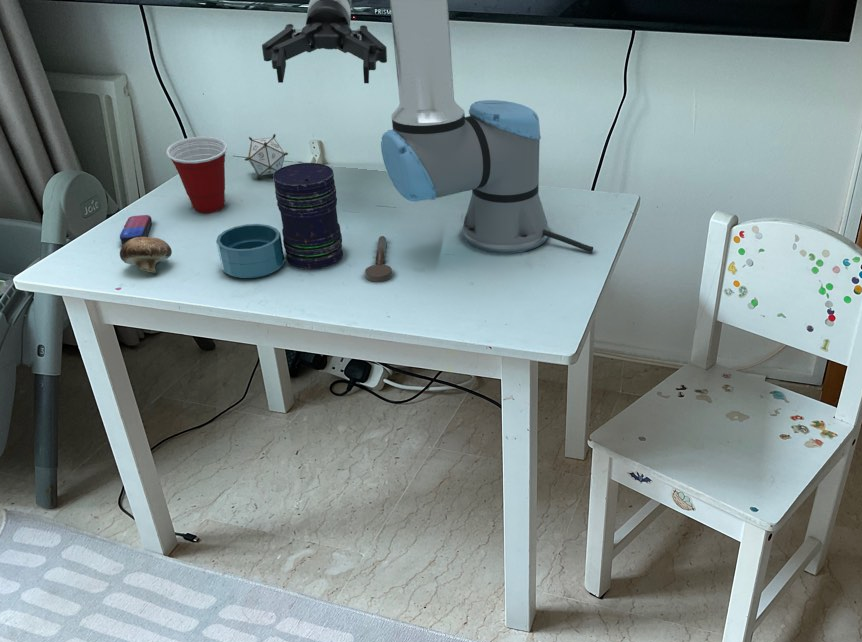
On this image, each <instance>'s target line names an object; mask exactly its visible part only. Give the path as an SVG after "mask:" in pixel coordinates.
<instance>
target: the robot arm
mask: <svg viewBox="0 0 862 642" xmlns="http://www.w3.org/2000/svg"><path fill="white" fill-rule="evenodd" d="M448 1H449V0H389V6H390V16H391V17H390V18H391V28H392V37H393V38H392V39H393V48H394V57H395V67H396V78H397V79H396V80H397V89H398V98H399V105H398V106H397V108H396V109H395V110H394V111H393V113H391V125H392V129H388V130H387V131H385V132H384V133H382V135H381V141H380V149H381V151H380V152H381V156H382V161H383V164H384V167H385V170H386V173H387V174H388V178H389V179H390V181H391V183H392V185H393V187H394V189H395V190H396V191H397V192H398V193H399V194H400V195H401V197H402V198H404V199H405V200H407V201H409V202H414V203H415V202H422V201H428V200H430V201H434V200H436V199H438V198H443V197H447V196H452V195H455V194H459V193H464V192H468V191H471V196H470V200H469V204H468V207H467V210H466V213H465V216H464V217H463V214H461V220H462V238H463V239H464V241H465V242H466V243H467V244H468V245H469V246H470V247H473V248H475V249H477V250H480V251H483V252H487V253H493V254H515V253H522V252H526V251H531V250H534V249H537V248H538V247H540V246H542V245H543V244H544V243H545V242H546V241H547V239H548V238H550V239H554V240H556V241H558V242H562V243H564V244H567V245H570V246H572V247H574V248H577V249H580V250H583V251H586V252H588V253H593V251H594V246H590V245H588V244H585V243H582V242H580V241H577V240H574V239H572V238H570V237H567V236H563V235H562V234H559V233H555V232H552V231H549V225H548V220H547V216H546V214H545V213H546V212H545V211H544V208H543V203H542V201H541V197H540V195H539V184H540V140H541V139H542V137H541V128H540V118H539V116H538V114H537V112H536V111H535V110H534V109H532V108H530V107H529V106H527V105H524V104H521V103H517V102H513V101H506V100H499V99H498V100H497V99H485V100H478V101H474V102H473V103H471V105H469V109H468V114H469V115H468V116H466V114H465V110H464V109H463V107H462V106H461V105H460V104H458V103H457V102H456V100H455V92H454V90H455V89H454V78H453V63H452V62H453V61H452V46H451V45H452V44H451V30H450V15H449V2H448ZM352 2H353V0H308V7H307V12H306V21H305V26H303V27H302V28H296V27H295V26H294V24H293V23H287V24H286V25H285V26H284V29H282V30H281V31H279V32H278V33H277V34H275V35H274V36H272V37H271V38H269V39H268V40H266V41H265V42H264V43H262V44H261V49H262V57H263V61H264V62H271V67H272V69H273V70H276V76H277V83H278V84H282V83H284V79H285V73H286V67H287V61H288V60H290V59H292V58H294V57H297V56H300V55H301V54H303V53H305V52H306V53H311V52H314V51H316V50H321V49H323V50H339V51H340V52H342V53H344V54H347V53H349V54H351V55H353V56H354V57H356V58H358V59H359V60H362V61H363V62H362V69H363V71H362V72H363V83H364V84H369V83H370V71H376V70H377V62H380V63H381V64H385V63H387V62H388V51H387V46H386V45H385V44H384V43H383V42H381V41H380V39H378V38H377V37H376V36H375V35H373V34H372V33H371V32H370V31H369V29H368V26H367V25H363V24H361V25H360V26H359V28H357V29H354V30H352V28H351V18H352V17H351V16H352Z"/></svg>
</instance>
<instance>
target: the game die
mask: <svg viewBox="0 0 862 642" xmlns="http://www.w3.org/2000/svg"><path fill="white" fill-rule="evenodd" d="M276 136H277V135H276V133H274V134H273V135H272V137H264V138H257V139H253V138H252V137H251V136H248V139H249V141H250V145H249V146H250V147H249V151H248V156H247V157H245V158H244V161H247V162H249V163H250V165H251V167H252V168H253V169H254V171H255V173H256V174H257V177H256V179H257V181H258V180H259V179H260V178H261V176H268V175H269V176H270V175H274V173H275V172H276V171H277V170H279V169H280V168H283V166H284V160H285V156H288V155H289V153H288V152H287V151H286V152H284V150H283V149H282V147H281V146H280V144H279V142H278V141H277V140H276V139H275V138H276Z"/></svg>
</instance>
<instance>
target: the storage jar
mask: <svg viewBox="0 0 862 642" xmlns="http://www.w3.org/2000/svg"><path fill="white" fill-rule="evenodd" d="M272 177H273V182H274V189H275V190H274V194H275V198H276V202H277V203H276V205H277V209H278V210H279V212H280V216H281V217H280V218H281V222H282V223H281V225H282V230H281V233H282V242H283V243H282V245H283V249H284V251H285V252H284V253H285V254H286V256H285V257H286V262H287V264H288V265H289V266H291V267H292V268H295V269H299V270H305V271H315V270H323V269H326V268H330V267H333V266H335V265H337V264H339V263H340V262H341V261H342V259H343V258H344V249H343V236H342V232H341V231H342V230H341V225H340V223H339V220H338V218H339V217H338V210H337V205H338V197H337V186H336V183H335V182H336V181H335V175H334V169H333V168H332V167H330V166H329V165H328V164H327V165H326V164H324V163H317V162H299V163H294V164H293V163H292V164H289V165H285V166H282V168H280V169H279V170H277V171H276V172H275V173H274V174H272Z"/></svg>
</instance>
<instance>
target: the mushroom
mask: <svg viewBox="0 0 862 642" xmlns="http://www.w3.org/2000/svg"><path fill="white" fill-rule="evenodd" d="M172 253H173V251H172V247H171V246H170V245H169V244H168V242H167V241H165V240H164V239H161V238H159V237H151V236H147V237H136V238H133V239H130V240H129V241H127V242H126V243H125V244H124V245H123V244H122V245H121V248H120V250H119V258H120V260H121V261H122V262H123V263H125V264H126V265H133V266H137V269H138V270H139V271H143V272H147V273H151V274H154V273H155V274H156V272H157V271H156V265H157V263H159V262H162V261H166V260H168V259H169V258H171V256H172Z"/></svg>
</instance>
